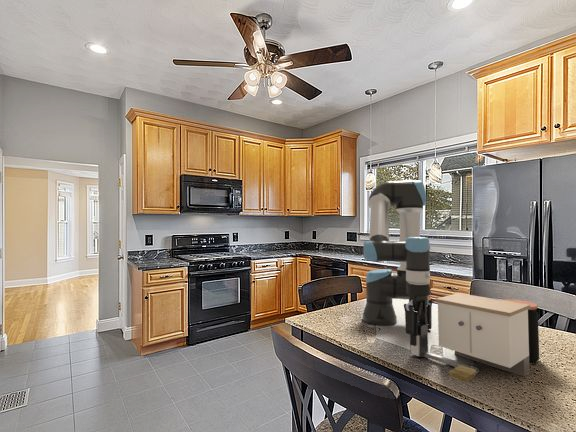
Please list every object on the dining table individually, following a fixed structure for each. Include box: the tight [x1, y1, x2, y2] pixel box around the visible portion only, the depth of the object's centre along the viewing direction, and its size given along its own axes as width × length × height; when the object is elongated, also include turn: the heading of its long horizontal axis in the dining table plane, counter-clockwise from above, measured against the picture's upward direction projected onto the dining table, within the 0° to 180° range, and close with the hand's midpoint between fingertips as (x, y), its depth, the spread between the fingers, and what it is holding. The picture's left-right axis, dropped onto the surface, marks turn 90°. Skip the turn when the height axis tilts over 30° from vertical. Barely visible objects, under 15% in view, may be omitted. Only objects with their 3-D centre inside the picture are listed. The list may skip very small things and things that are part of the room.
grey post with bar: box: [409, 322, 479, 375], centre depth 100 cm, size 20×4×10 cm, turn 37°
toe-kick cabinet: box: [435, 292, 530, 377], centre depth 98 cm, size 21×16×20 cm
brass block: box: [448, 367, 476, 383], centre depth 92 cm, size 5×5×2 cm
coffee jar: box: [503, 298, 540, 365], centre depth 105 cm, size 11×11×18 cm
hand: (419, 352), depth 106 cm, fingers closed on grey post with bar, 4 cm apart
